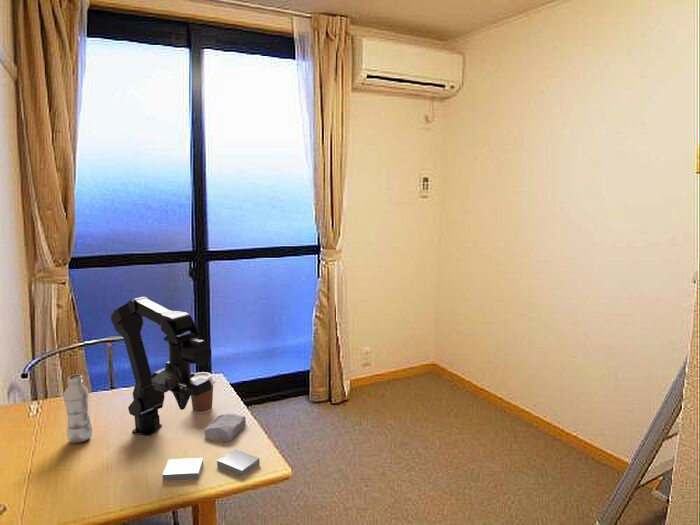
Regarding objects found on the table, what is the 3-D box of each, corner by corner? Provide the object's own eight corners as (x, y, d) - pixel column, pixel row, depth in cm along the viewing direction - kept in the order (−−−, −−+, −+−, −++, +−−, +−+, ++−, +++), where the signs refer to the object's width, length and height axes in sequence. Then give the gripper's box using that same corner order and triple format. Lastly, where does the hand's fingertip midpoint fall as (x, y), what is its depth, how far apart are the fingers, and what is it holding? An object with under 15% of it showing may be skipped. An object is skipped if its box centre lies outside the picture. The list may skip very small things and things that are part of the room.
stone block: (203, 445, 152) (233, 442, 150) (199, 430, 152) (230, 427, 149) (220, 427, 164) (248, 424, 161) (217, 413, 163) (245, 410, 161)
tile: (217, 460, 137) (241, 470, 132) (235, 448, 143) (259, 458, 138) (217, 468, 137) (242, 478, 133) (235, 456, 143) (259, 466, 139)
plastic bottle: (96, 439, 150) (91, 376, 147) (72, 448, 146) (66, 383, 142) (88, 432, 155) (83, 370, 151) (64, 440, 150) (58, 377, 146)
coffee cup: (204, 401, 177) (203, 368, 175) (221, 408, 172) (220, 374, 170) (182, 410, 170) (181, 377, 168) (200, 418, 164) (198, 383, 162)
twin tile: (162, 483, 131) (162, 474, 130) (169, 467, 138) (169, 459, 137) (198, 481, 132) (198, 472, 131) (203, 466, 138) (202, 458, 138)
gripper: (133, 360, 140) (137, 412, 142) (180, 373, 131) (183, 429, 133) (166, 348, 149) (168, 397, 152) (211, 360, 140) (214, 412, 143)
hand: (182, 409), depth 145 cm, fingers closed
